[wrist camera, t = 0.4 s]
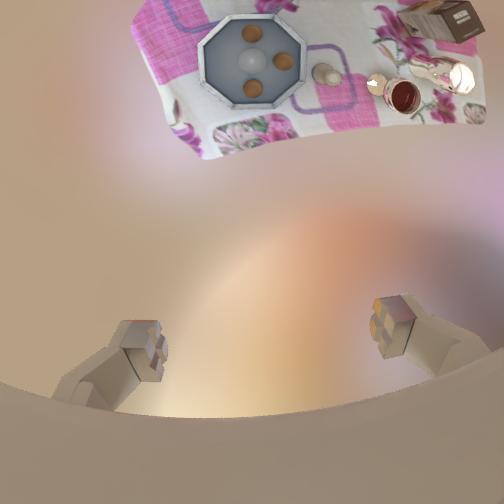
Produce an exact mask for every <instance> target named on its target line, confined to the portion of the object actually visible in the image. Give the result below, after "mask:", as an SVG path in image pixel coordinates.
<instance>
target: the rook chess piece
mask: <svg viewBox="0 0 504 504" xmlns="http://www.w3.org/2000/svg"><path fill="white" fill-rule="evenodd" d="M312 76H313V78H314V80H315V81H316V82H317V83H320V84H327V85H329V86H331V87H335V86H338V85H339V84H340V83H341V81H342V76H341V73H340V72H338V71H337V70H334V69H333V68H332V67H331V66H329V65H327V64H324V63H320V64H318V65H316V66H315V67H314V68H313V70H312Z"/></svg>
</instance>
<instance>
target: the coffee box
mask: <svg viewBox="0 0 504 504" xmlns="http://www.w3.org/2000/svg"><path fill="white" fill-rule="evenodd" d="M397 15H398V16H399V18H400V19H401V21H402V22H403V24H404V25H405V27H406V28H407V30H408V31H409V33H410V34H411V36H413V37H421V38H428V39H435V40H441V41H446V42H451V43H456V44H461V43H462V42H464V41H466V40H468V39H470V38H472V37H474V36H476V35H478V34H480V33H482V32H484V31H485V29H484V27H483V25H482V23H481V21H480V19H479V17H478V15H477V13H476V11H475V10H474V8H473V6H472V5H471V3H470V2H469V1H458V0H437V1H422V2H420V3H417V4H415V5H413V6H411V7H409V8H407V9H405V10H403V11H401V12H399V13H397Z"/></svg>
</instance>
